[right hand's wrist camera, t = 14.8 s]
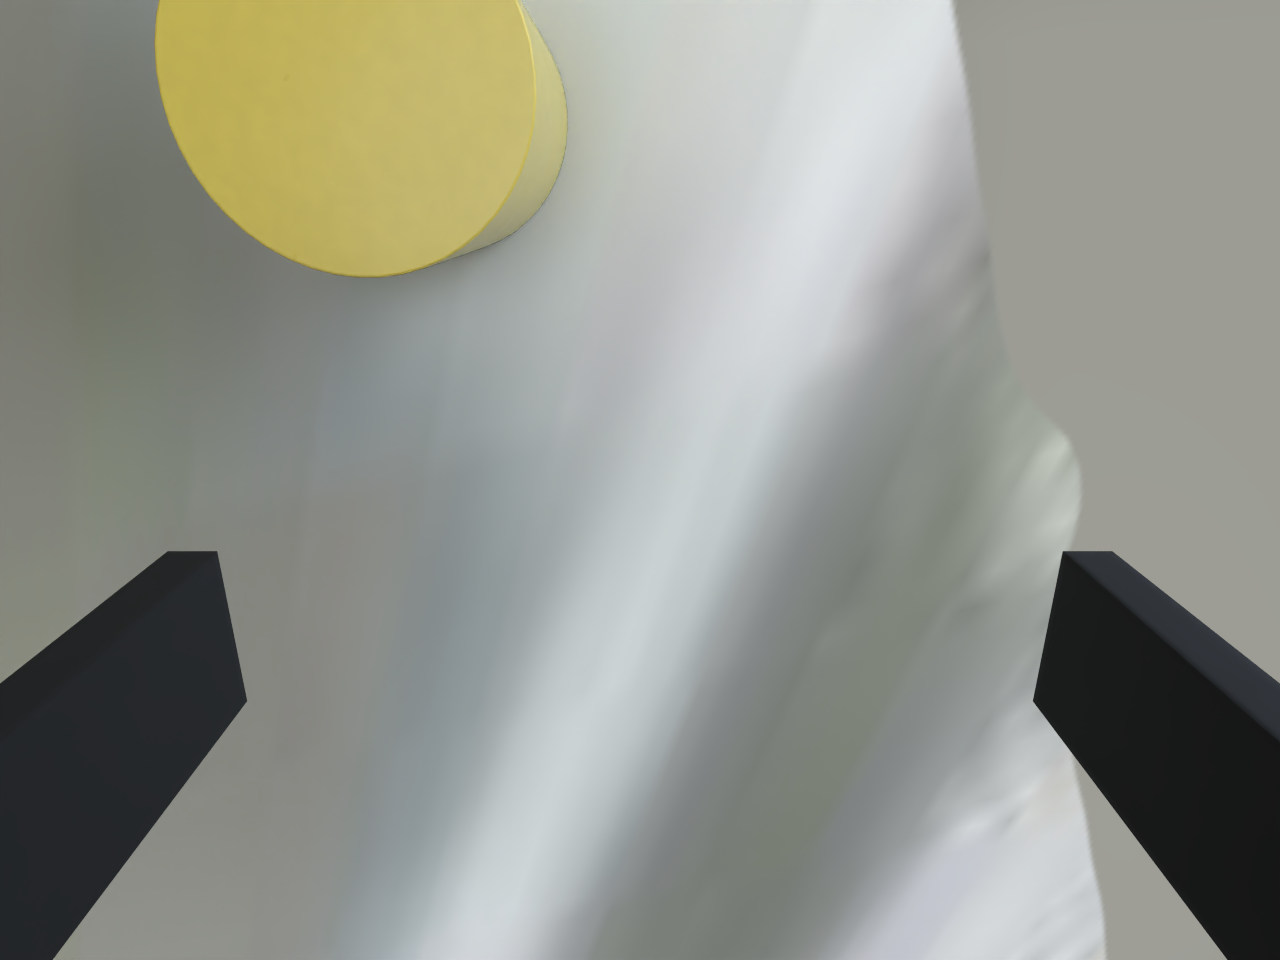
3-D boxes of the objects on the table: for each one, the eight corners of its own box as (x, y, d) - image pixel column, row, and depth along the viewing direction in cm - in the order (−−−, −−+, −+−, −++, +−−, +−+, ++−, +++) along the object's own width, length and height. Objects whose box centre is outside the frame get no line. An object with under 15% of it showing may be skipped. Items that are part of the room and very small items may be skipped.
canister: (578, 243, 28) (553, 266, 19) (335, 260, 28) (205, 289, 19) (554, -39, 25) (513, -158, 16) (284, -19, 25) (106, -128, 17)
